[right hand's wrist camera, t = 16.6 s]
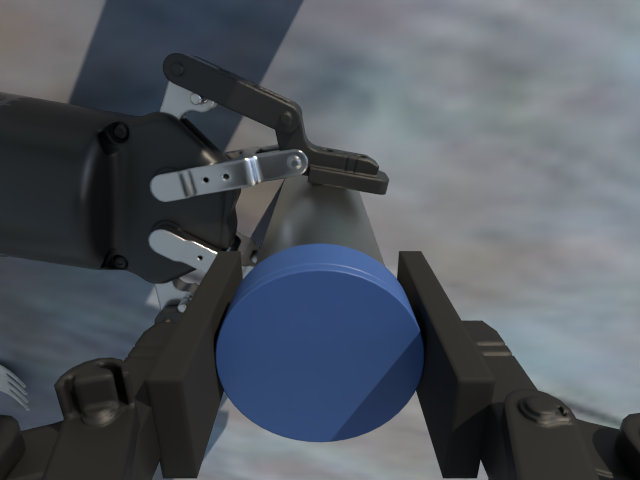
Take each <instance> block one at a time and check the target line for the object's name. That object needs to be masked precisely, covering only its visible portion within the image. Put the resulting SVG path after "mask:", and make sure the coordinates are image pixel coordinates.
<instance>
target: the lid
mask: <svg viewBox="0 0 640 480" xmlns="http://www.w3.org/2000/svg"><path fill="white" fill-rule="evenodd" d="M215 358H216V368H217V372H218V376H219V379H220V382H221V385H222V387H223V389H224V391H225V392H226V394H227V396H228V398H229V399H230V400H231V402H232V403H233V404H234V406H235V407H236V408H237V409H238V410H239V411H240V412H241V413H242V414H243V415H245V416H246V417H247V418H248V419H250V420H251V421H252V422H254V423H255V424H257V425H258V426H260V427H262V428H264V429H266V430H268V431H270V432H272V433H275V434H277V435H280V436H283V437H286V438H291V439H295V440H301V441H308V442H332V441H339V440H346V439H349V438H353V437H357V436H360V435H362V434H365V433H368V432H370V431H372V430H374V429H376V428H378V427H380V426H381V425H383V424H385V423H386V422H388V421H389V420H390V419H392V418H393V417H394V416H395V415H396V414H398V413H399V412H400V411H401V410H402V409H403V407H404V406H405V405H406V404H407V403H408V401H409V400H410V399H411V397H412V396H413V394H414V392H415V390H416V388H417V387H418V385H419V382H420V379H421V376H422V372H423V367H424V344H423V338H422V335H421V332H420V329H419V326H418V323H417V321H416V318H415V316H414V313H413V311H412V308H411V306H410V303H409V301H408V298H407V296H406V294H405V292H404V290H403V288H402V286H401V285H400V283H399V282H398V280H397V279H396V277H395V276H394V275H393V274H392V273H391V272H390V271H389V270H388V269H387V268H386V267H385V266H383V265H382V264H381V263H380V262H378V261H377V260H375V259H374V258H372V257H370V256H369V255H367V254H364V253H362V252H360V251H358V250H355V249H352V248H348V247H345V246H340V245H334V244H319V243H318V244H305V245H300V246H295V247H291V248H288V249H285V250H282V251H280V252H278V253H276V254H273V255H271V256H269V257H268V258H266V259H265V260H263V261H262V262H260V263H259V264H258V265H256V266H255V267H254V268H253V269H252V270H251V271H250V272H249V273H248V274H247V275H246V276H245V277H244V279H243V280H242V281H241V283H240V284H239V286H238V288H237V289H236V292H235V294H234V296H233V298H232V301H231V303H230V306H229V308H228V311H227V313H226V316H225V318H224V321H223V323H222V326H221V328H220V331H219V335H218V338H217V342H216V351H215Z"/></svg>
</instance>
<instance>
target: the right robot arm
mask: <svg viewBox="0 0 640 480" xmlns="http://www.w3.org/2000/svg"><path fill="white" fill-rule="evenodd" d="M242 280H243V274H242V261H241V251H219V252H218V254H217V256H216V257H215V259H214V261H213V262H212V264H211V266H210V268H209V269H208V271H207V273H206V274H205V276H204V278H203V280H202V281H201V283H200V285H199V286H198V288H197V290H196V292H195V293H194V295H193V297H192V299H191V300H190V302H189V304H188V305H187V307H186V309H185V311H184V312H183V314H182V316H181V317H180V319H179V321H178V322H157V323H156V324H155V325H153V326H152V327H151V328H149V329H148V330H146V331H145V332H144V333H143V334H142V336H141V337H140V338H139V340H138V341H137V343H136V344H135V347H133V349H132V350H131V351H130V353H129V354H128V357H126V359H125V360H124V361H122V360H120V359H116V358H98V359H94V360H91V361H87V362H84V363H82V364H80V365H77V366H75V367H73V368H71V369H70V370H69V371H67V372H66V373H65V374H63V375H62V376H61V377H60V378H59V379H58V381H57V382H56V384H55V385H54V387H55V390H56V393H57V397H58V400H59V404H60V407H61V410H62V414H63V417H64V420H63V421H60V422H57V423H54V424H50V425H45V426H41V427H37V428H32V429H28V430H24V431H21V429H20V427H19V424H18V421H17V420H15V419H14V418H13V417H12V416H7V415H0V480H152V478H153V475H154V473H155V470H156V468H157V466H158V463H159V461H160V465H161V470H162V475H163V478H197V476H198V473H199V470H200V467H201V463H202V460H203V457H204V454H205V450H206V447H207V444H208V441H209V437H210V434H211V431H212V428H213V424H214V421H215V418H216V415H217V411H218V408H219V405H220V402H221V398H222V395H223V392H224V389H223V387H222V385H221V382H220V379H219V376H218V372H217V368H216V358H215V351H216V342H217V338H218V335H219V331H220V328H221V326H222V323H223V321H224V318H225V316H226V313H227V311H228V308H229V306H230V303H231V301H232V298H233V296H234V294H235V292H236V289H237V288H238V286H239V284H240V283H241V281H242ZM397 280H398V282H399V283H400V285H401V286H402V288H403V290H404V292H405V294H406V296H407V298H408V301H409V303H410V306H411V308H412V311H413V313H414V316H415V318H416V321H417V323H418V326H419V329H420V332H421V335H422V338H423V344H424V367H423V372H422V376H421V379H420V382H419V385H418V387H417V388H416V392H417V395H418V398H419V402H420V405H421V408H422V411H423V415H424V418H425V421H426V424H427V428H428V431H429V434H430V437H431V441H432V444H433V447H434V450H435V454H436V457H437V460H438V463H439V467H440V470H441V473H442V476H443V478H477V475H478V470H479V465H480V460H481V461H482V464H483V466H484V468H485V471H486V473H487V476H488V478H489V479H488V480H640V413H636V414H629V415H628V416H627V417H626V418H624V419H623V421H622V424H621V427H620V429H615V428H611V427H606V426H602V425H598V424H593V423H589V422H585V421H582V420H579V419H576V417H575V416H574V414H573V413H572V411H571V409H570V408H569V407H567V406H566V405H565V404H564V403H563V402H561V401H560V400H559V399H557V398H555V397H553V396H551V395H549V394H547V393H544V392H541V391H538V390H537V388H536V387H535V386H534V384H533V383H532V381H531V380H530V378H529V377H528V376H527V374H526V373H525V371H524V370H523V368H522V367H521V365H520V364H519V363H518V361H517V360H516V358H515V357H514V356H512V353H511V351H510V350H509V348H508V347H507V346H505V343H504V341H503V340H502V338H501V337H500V335H499V334H498V332H497V331H496V330H494V329H493V328H491V327H490V326H489V325H487V324H486V323H484V322H483V321H461V319H460V317H459V316H458V314H457V312H456V311H455V309H454V307H453V305H452V304H451V302H450V300H449V298H448V297H447V295H446V293H445V292H444V290H443V288H442V286H441V285H440V283H439V281H438V280H437V278H436V276H435V274H434V273H433V271H432V269H431V268H430V266H429V264H428V262H427V261H426V259H425V257H424V256H423V254H422V252H421V251H399V261H398V274H397Z"/></svg>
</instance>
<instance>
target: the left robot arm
mask: <svg viewBox="0 0 640 480" xmlns="http://www.w3.org/2000/svg"><path fill="white" fill-rule="evenodd" d="M163 71H164V74H165V76H166V78H167V79H168V80H169V81H168V85H167V88H166V92H165V95H164V98H163V102H162V105H161V109H160V111H159V112H154V113H150V114H148V115H145V116H132V115H126V114H121V113H115V112H110V111H104V110H98V109H93V108H87V107H82V106H76V105H71V104H65V103H59V102H54V101H48V100H42V99H37V98H32V97H26V96H20V95H15V94H9V93H3V92H0V256H11V257H18V258H24V259H31V260H38V261H44V262H50V263H57V264H63V265H70V266H76V267H83V268H89V269H96V270H127V271H130V272H132V273H134V274H136V275H138V276H140V277H141V278H143V279H144V280H146V281H148V282H151V283H154V284H155V288H156V292H157V296H158V300H159V304H160V309H161V310H160V313H159V314H158V316H157V317H156V319H155V324H156V323H157V322H178V321H179V319H180V317H181V316H182V314H183V312H184V311H185V309H186V307H187V305H188V304H189V302H190V300H191V299H192V297H193V295H194V293H195V292H196V290H197V288H198V286H199V285H198V284H197V283H186V282H184V281H182V280H181V279H180V278H179V277H181V276H184V275H186V274H188V273H190V272H192V271H194V270H197V269H198V270H200V271H202V272H204V273H207V271H208V269H209V268H210V266H211V264H212V262H213V261H214V259H215V257H216V256H217V254H218V252H219V251H241V261H242V274H243V279H244V277H245V276H246V275H247V274H248V273H249V272H250V271H251V270H252V269H253V268H254V267H255V264H256V261H257V258H258V255H259V252H260V249H261V248H260V247H258V246H257V245H256V243H255V242H254V241H253V240H252V239H250V238H249V237H247V236H245V235H243V234H241V233H239V232H237V222H238V221H237V215H236V210H235V205H236V203H237V200H238V198H239V196H240V193H241V188H244V187H249V186H253V185H256V184H258V183H261V182H265V181H271V180H277V179H283V178H289V177H295V176H299V175H304V176H308V181H307V182H310V183H315V184H321V185H329V186H333V187H339V188H344V189H350V190H356V191H362V192H368V193H373V194H380V195H384V194H386V190H387V186H388V182H389V178H388V177H387V175H386V174H385V173H384V172H382V171H379V170H378V169H379V166H378V164H377V163H376V161H375V160H373V159H372V158H370V157H369V156H367V155H364V154H358V153H352V152H346V151H341V150H336V149H330V148H324V147H319V146H316V145H313V144H312V143H311V142H310V141H309V140H308V139H307V137H306V134H305V129H304V124H303V118H302V110H301V108H300V106H299V105H298V104H297V103H295V102H293V101H291V100H289V99H287V98H285V97H282V96H280V95H278V94H276V93H274V92H272V91H270V90H267V89H265V88H263V87H261V86H259V85H257V84H255V83H252V82H250V81H248V80H246V79H244V78H242V77H240V76H237V75H235V74H233V73H231V72H229V71H227V70H225V69H222V68H220V67H218V66H216V65H214V64H212V63H210V62H207V61H205V60H203V59H201V58H199V57H196V56H190V55H185V54H179V53H173V54H170V55H169V56H167V57H166V59H165V60H164V63H163ZM217 104H220V105H222V106H224V107H226V108H228V109H231V110H233V111H235V112H237V113H239V114H242V115H244V116H246V117H248V118H251V119H253V120H255V121H257V122H259V123H262V124H264V125H266V126H268V127H270V128H273V129H275V131H276V136H277V141H278V144H277V145H271V146H266V147H252V148H247V149H241V150H235V151H229V152H224V153H222V152H221V151H220V150H219V149H218V148H217V147H216V146H215V145H214V144H213V143H212V142H211V141H210V140H209V139H208V138H207V137H205V136H204V135H203V134H202V133H201V132H200V131H199V130H198V129H197V128H196V127H195V126H194V125H193V124H192V123H191V122H190V121H189V120H188V119H187V118H186V116H187V114H188V113H189V112H190V111H197V112H207V111H210V110H212V109H214V108H215V107H216V106H217Z"/></svg>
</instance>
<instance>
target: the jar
mask: <svg viewBox="0 0 640 480" xmlns="http://www.w3.org/2000/svg"><path fill="white" fill-rule="evenodd" d="M307 181H308V176H304V175H299V176H295V177H289V178H285V180H284V183H283V186H282V189H281V192H280V194H279V197H278V200H277V203H276V206H275V209H274V212H273V215H272V218H271V220H270V223H269V226H268V229H267V232H266V235H265V238H264V241H263V244H262V246H261V249H260V252H259V255H258V258H257V261H256V264H255V266H256V265H258V264H259V263H260V262H262V261H263V260H265V259H266V258H268V257H269V256H271V255H273V254H276V253H278V252H280V251H282V250H285V249H288V248H291V247H295V246H300V245H305V244H318V243H319V244H334V245H340V246H345V247H348V248H352V249H355V250H358V251H360V252H362V253H364V254H367V255H369V256H370V257H372V258H374V259H375V260H377V261H378V262H380V263H381V264H382V265H383V266H385V265H384V262H383V259H382V256H381V253H380V250H379V247H378V244H377V241H376V239H375V236H374V233H373V230H372V227H371V224H370V221H369V218H368V215H367V212H366V210H365V207H364V204H363V201H362V198H361V195H360V192H359V191H356V190H350V189H344V188H339V187H333V186H329V185H321V184H315V183H310V182H307Z"/></svg>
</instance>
